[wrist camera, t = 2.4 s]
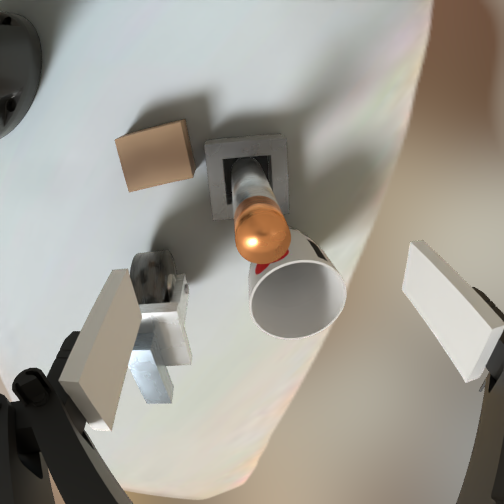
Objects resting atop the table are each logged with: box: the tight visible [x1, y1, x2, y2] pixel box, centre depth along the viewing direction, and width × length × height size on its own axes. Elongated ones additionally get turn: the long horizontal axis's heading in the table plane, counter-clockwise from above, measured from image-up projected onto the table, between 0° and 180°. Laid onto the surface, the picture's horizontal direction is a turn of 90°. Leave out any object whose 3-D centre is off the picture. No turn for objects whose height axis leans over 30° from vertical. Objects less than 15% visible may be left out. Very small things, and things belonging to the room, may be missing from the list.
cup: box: [248, 226, 346, 340], centre depth 31 cm, size 8×8×10 cm
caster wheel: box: [128, 250, 192, 403], centre depth 30 cm, size 10×7×13 cm
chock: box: [115, 119, 196, 192], centre depth 28 cm, size 5×6×4 cm
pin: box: [231, 157, 291, 264], centre depth 24 cm, size 3×3×15 cm
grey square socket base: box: [204, 134, 289, 221], centre depth 29 cm, size 7×7×3 cm
